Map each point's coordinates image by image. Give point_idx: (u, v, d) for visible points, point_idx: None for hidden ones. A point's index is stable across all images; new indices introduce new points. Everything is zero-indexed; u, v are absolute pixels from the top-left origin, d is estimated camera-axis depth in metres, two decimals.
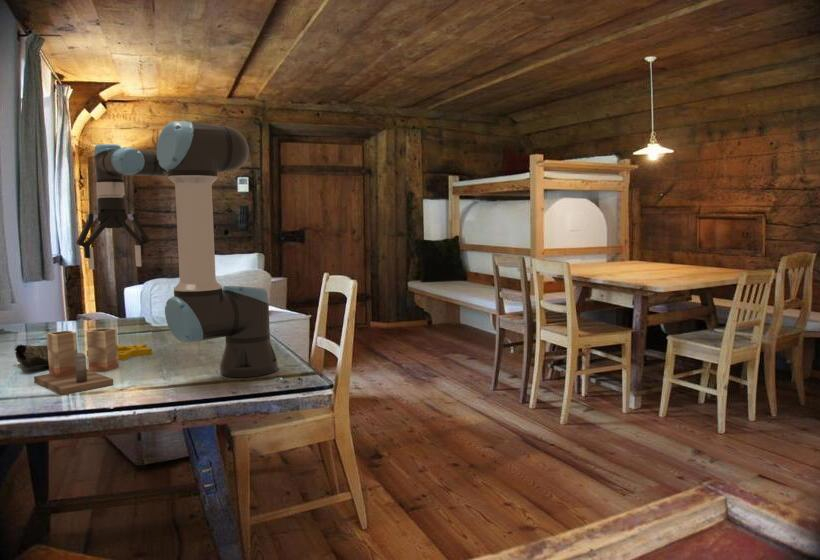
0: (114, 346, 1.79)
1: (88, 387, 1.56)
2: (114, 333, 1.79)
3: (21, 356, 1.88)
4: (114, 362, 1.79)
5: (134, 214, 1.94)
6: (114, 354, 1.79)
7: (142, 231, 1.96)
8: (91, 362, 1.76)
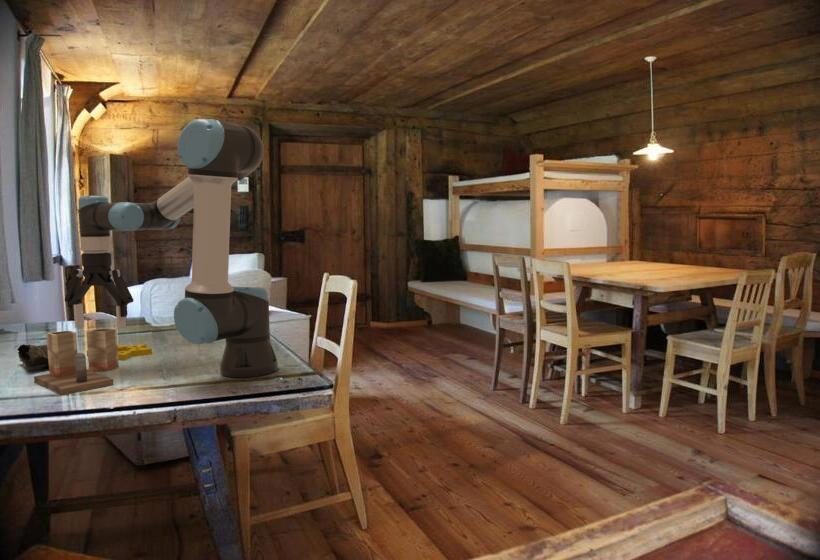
0: (114, 346, 1.79)
1: (88, 387, 1.56)
2: (114, 333, 1.79)
3: (24, 356, 1.88)
4: (114, 362, 1.79)
5: (113, 271, 1.74)
6: (114, 354, 1.79)
7: (121, 290, 1.74)
8: (91, 362, 1.76)
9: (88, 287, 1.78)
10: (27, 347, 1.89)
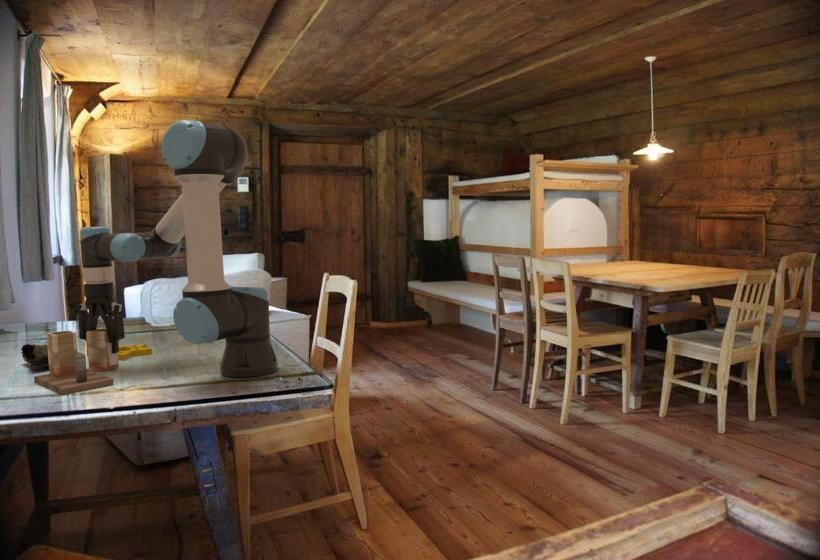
0: None
1: (88, 387, 1.56)
2: None
3: (27, 355, 1.88)
4: None
5: (115, 306, 1.75)
6: None
7: (116, 326, 1.75)
8: (91, 362, 1.76)
9: (96, 319, 1.79)
10: (30, 347, 1.89)
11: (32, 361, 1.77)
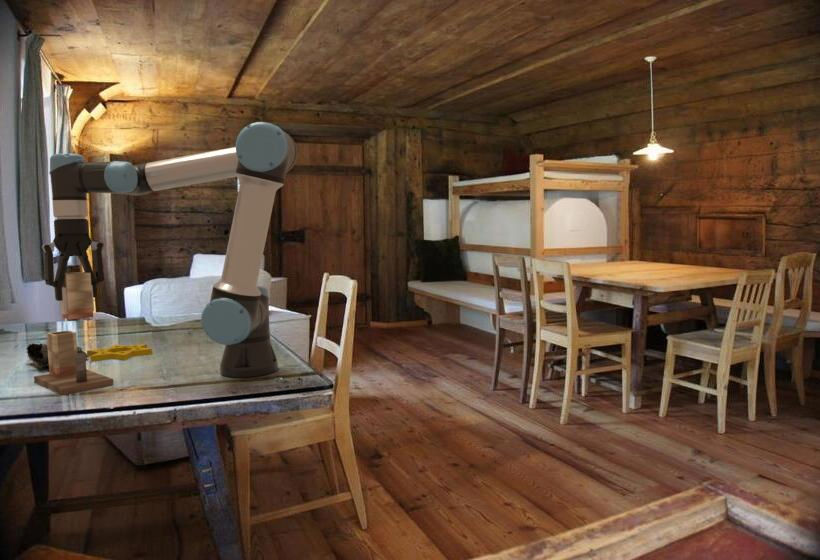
0: None
1: (88, 387, 1.56)
2: None
3: (33, 355, 1.89)
4: None
5: (100, 244, 1.60)
6: None
7: (100, 266, 1.60)
8: (73, 309, 1.54)
9: None
10: (36, 346, 1.90)
11: (39, 360, 1.77)
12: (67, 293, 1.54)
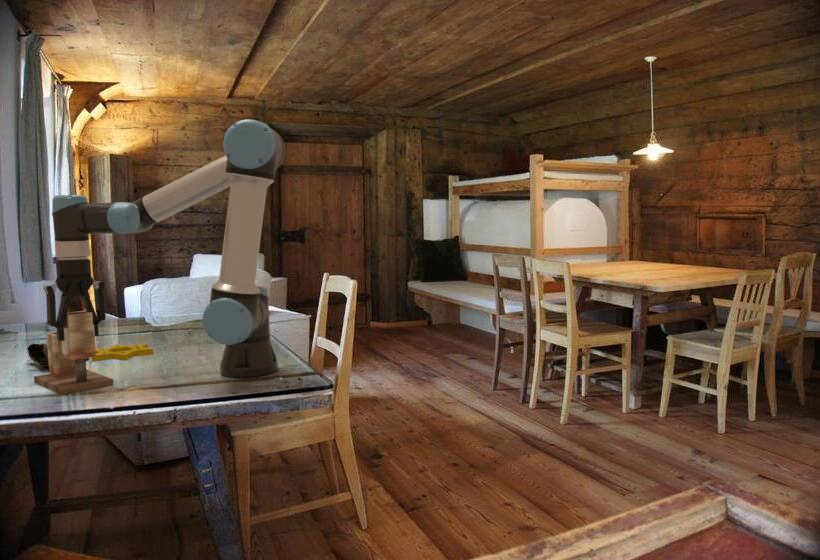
0: None
1: (88, 387, 1.56)
2: None
3: (33, 355, 1.89)
4: None
5: (102, 283, 1.60)
6: None
7: (102, 305, 1.60)
8: (75, 349, 1.55)
9: None
10: (36, 346, 1.90)
11: (42, 360, 1.78)
12: (69, 334, 1.54)
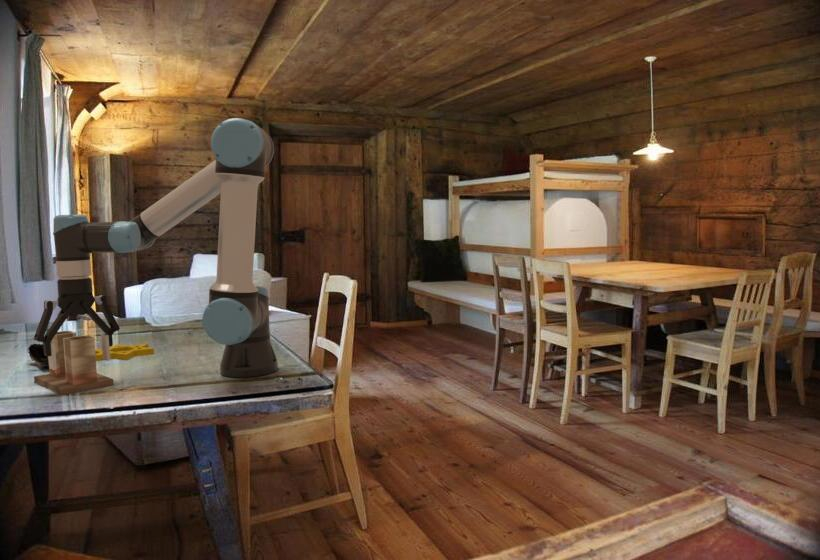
0: None
1: (88, 387, 1.56)
2: None
3: (34, 355, 1.88)
4: None
5: (103, 297, 1.60)
6: None
7: (111, 317, 1.62)
8: (77, 374, 1.55)
9: None
10: (37, 346, 1.90)
11: (43, 360, 1.78)
12: (71, 359, 1.55)
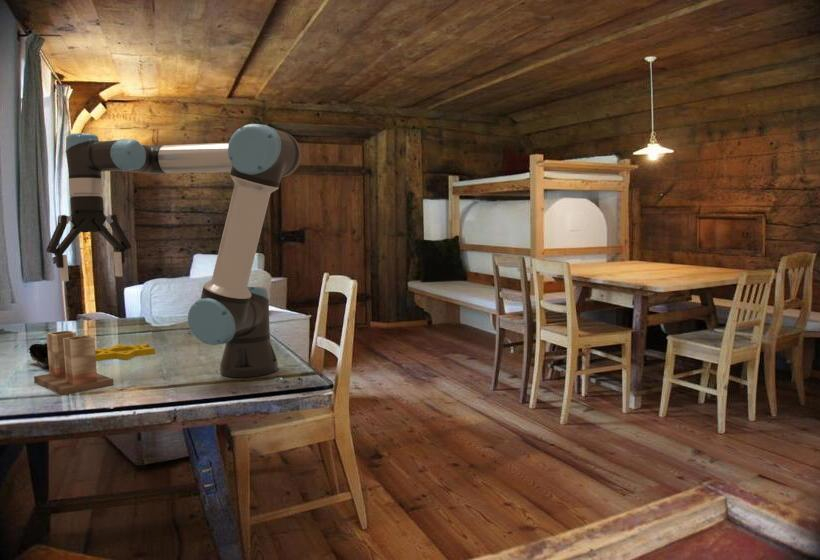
0: None
1: (88, 387, 1.56)
2: None
3: (35, 355, 1.88)
4: None
5: (113, 216, 1.67)
6: None
7: (123, 235, 1.69)
8: (77, 374, 1.55)
9: None
10: (37, 346, 1.89)
11: (46, 360, 1.78)
12: (71, 359, 1.55)
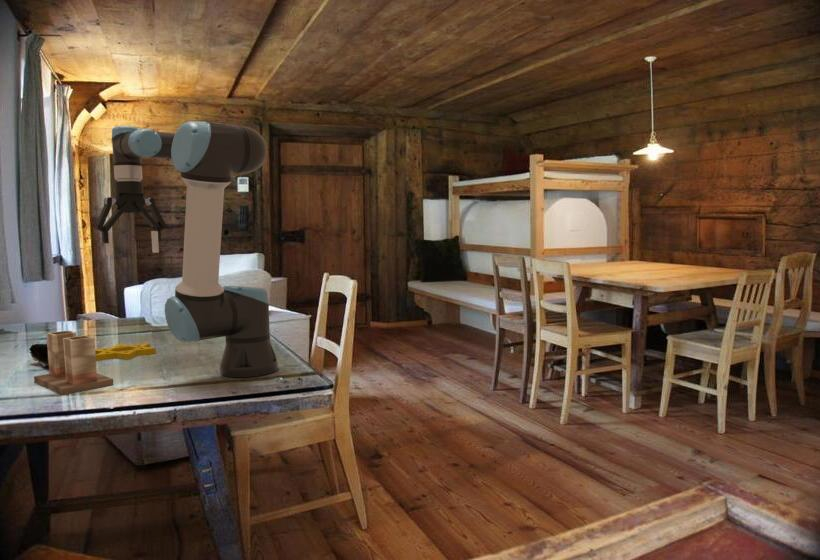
0: None
1: (88, 387, 1.56)
2: None
3: (35, 355, 1.88)
4: None
5: (152, 199, 1.90)
6: None
7: (159, 216, 1.92)
8: (77, 374, 1.55)
9: None
10: (38, 347, 1.89)
11: None
12: (71, 359, 1.55)
